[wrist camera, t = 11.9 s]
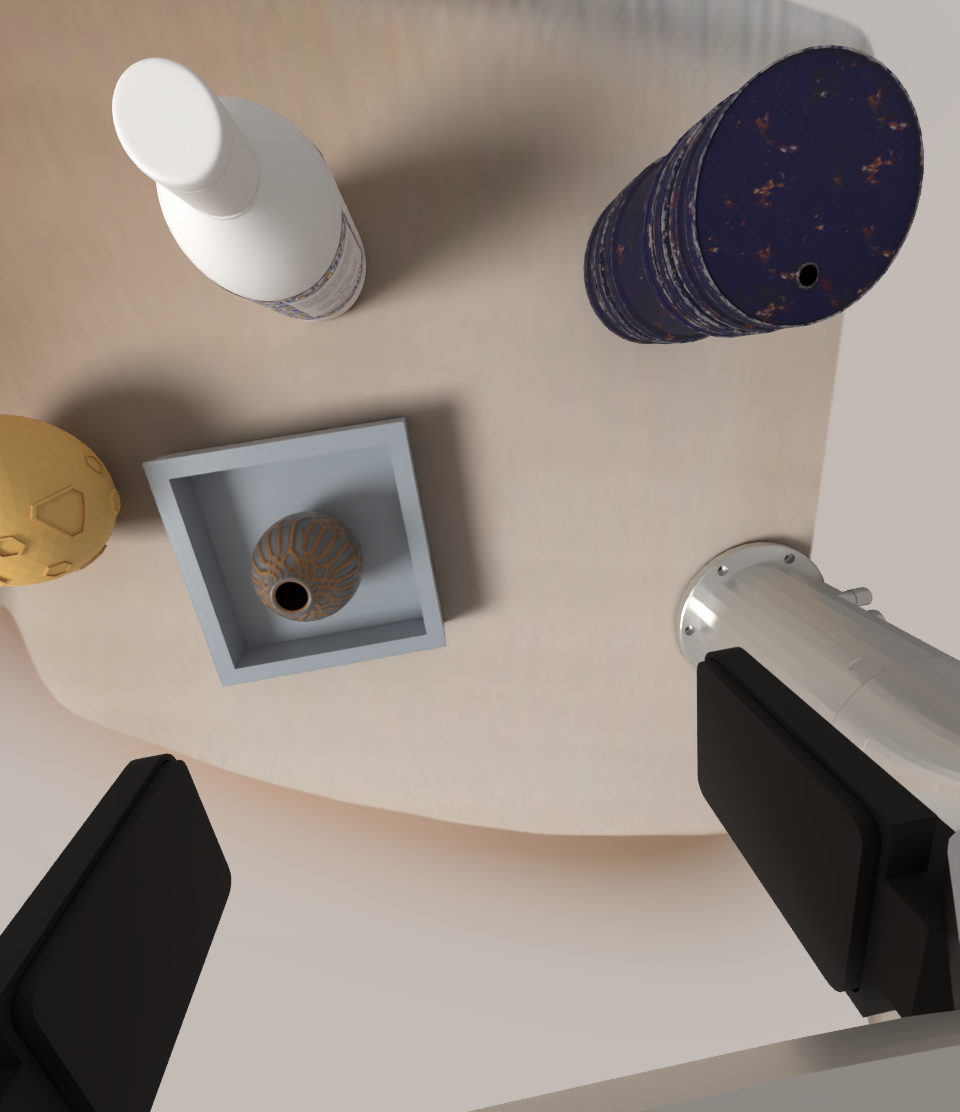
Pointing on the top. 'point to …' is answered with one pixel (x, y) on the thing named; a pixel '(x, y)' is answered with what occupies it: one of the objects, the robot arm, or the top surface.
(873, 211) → the storage jar
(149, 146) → the bath foam
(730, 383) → the top surface
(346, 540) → the vase
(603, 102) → the top surface
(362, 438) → the bin
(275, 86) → the top surface
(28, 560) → the stress ball
